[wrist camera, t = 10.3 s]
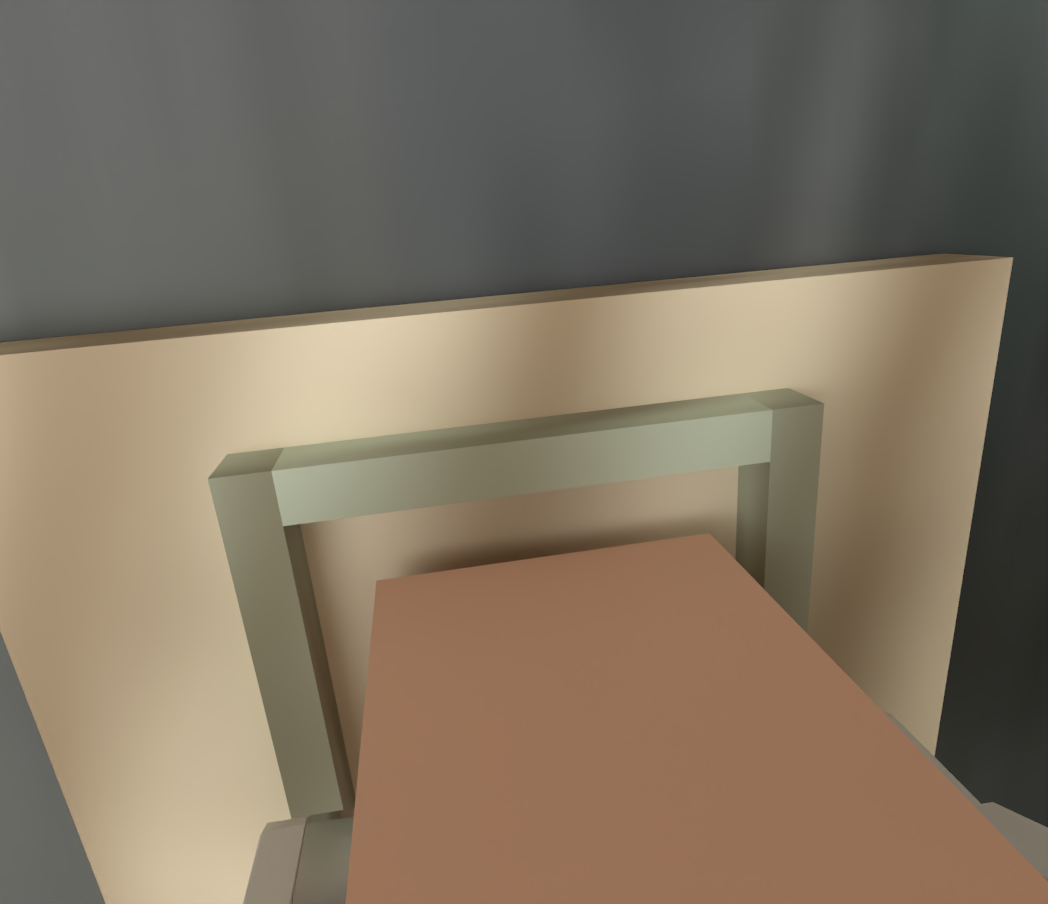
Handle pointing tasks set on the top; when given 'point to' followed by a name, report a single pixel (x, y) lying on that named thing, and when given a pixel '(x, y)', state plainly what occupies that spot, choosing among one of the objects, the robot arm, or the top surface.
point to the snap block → (642, 749)
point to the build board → (455, 511)
